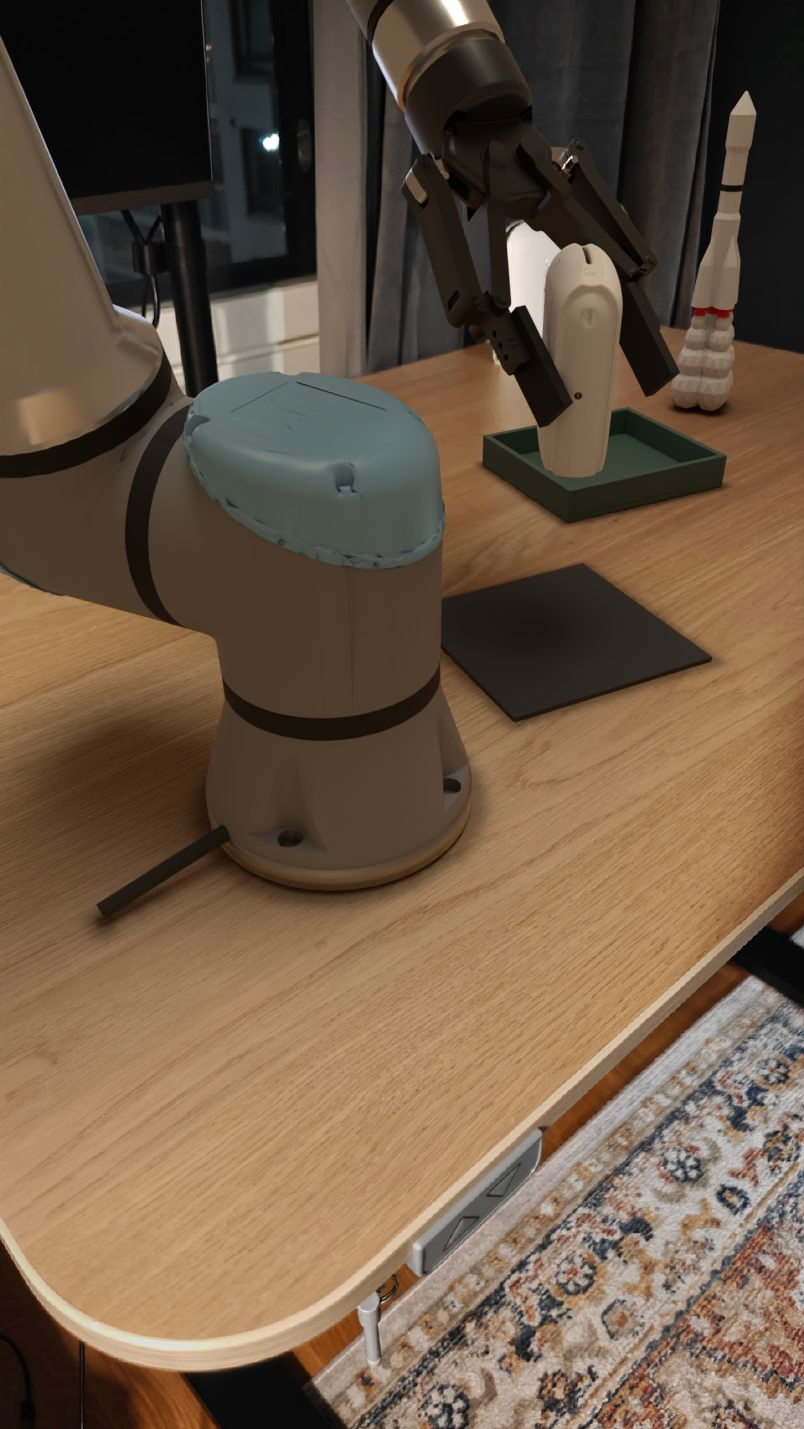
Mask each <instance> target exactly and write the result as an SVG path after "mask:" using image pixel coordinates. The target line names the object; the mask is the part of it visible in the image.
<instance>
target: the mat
mask: <svg viewBox="0 0 804 1429" xmlns="http://www.w3.org/2000/svg"><path fill="white" fill-rule="evenodd" d="M441 650H443V651H444V652H445V653H446V654H447V655H448V656H449V657H450V658H451V659H452V660H453V661H454V662H455V663H456V664H457V665H458V666H459V667H460V669H462V670H463V672H465V673H466V675H468V676H469V678H471V680H473V681H474V683H476V684H477V685H478V686H479V688H480V689H482V690H483V691H484V692H485V694H487V696H488V697H490V698H491V700H492V701H494V702H495V704H497V706H498V707H499V708H500V709H501V710H502V711H503V712H504V713H505V714H506V715H507V716H508V717H509V718H510V719H511V720H512V721H513V722H519V721H522V720H525V719H527V718H530V717H534V716H537V715H540V714H543V713H547V712H551V711H553V710H556V709H560V708H563V707H567V706H570V705H573V704H576V703H579V702H583V701H585V700H590V699H593V698H595V697H598V696H601V695H602V696H603V695H605V694H608V693H610V692H611V693H612V692H615V691H618V690H621V689H625V688H627V687H630V686H633V685H637V684H640V683H643V682H647V681H649V680H652V679H656V678H660V677H662V676H666V675H669V674H672V673H675V672H679V671H682V670H685V669H689V668H691V667H695V666H698V665H701V664H704V663H708V662H711V661H713V656H712V655H711V654H709V653H708V652H706V651H705V650H704V649H702V648H700V646H699V645H696V644H695V643H694V642H692V641H691V640H690V639H688V638H687V637H686V636H684V635H683V634H681V633H680V632H679V631H677V630H676V629H675V628H674V627H672V626H671V625H669V624H668V623H667V622H666V621H664V620H662V619H661V618H660V617H658V616H656V615H655V614H654V613H652V611H649V610H648V609H647V608H646V607H644V606H643V605H641V604H640V603H638V602H637V601H636V600H635V599H633V598H632V597H630V596H629V595H628V594H626V593H625V592H624V591H622V590H621V589H620V588H618V587H616V585H614V584H613V583H611V582H610V581H608V580H607V579H605V578H604V577H603V576H601V575H600V574H599V573H597V572H596V571H595V570H594V569H592V568H591V567H589V566H588V565H586V564H585V563H583V562H580V563H577V564H573V565H569V566H566V567H562V568H558V569H554V570H550V571H546V572H541V573H538V574H533V575H530V576H526V577H521V578H519V579H514V580H511V581H507V582H503V583H500V584H494V585H491V586H487V587H483V588H478V589H476V590H471V591H468V592H463V593H460V594H456V595H451V596H448V597H444V598H442V605H441Z"/></svg>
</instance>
